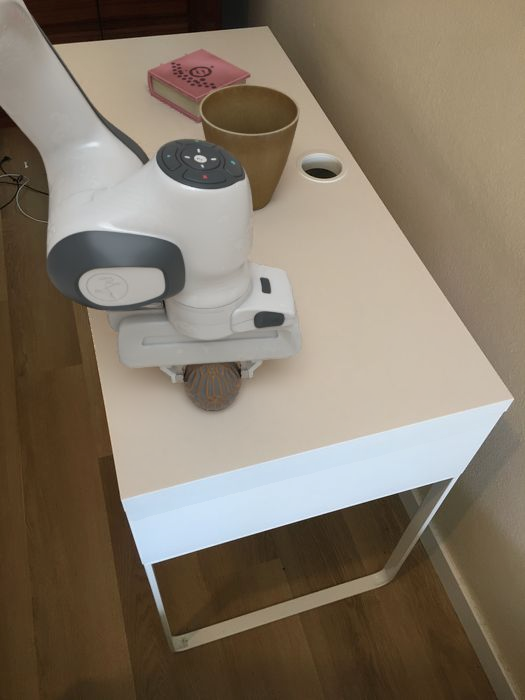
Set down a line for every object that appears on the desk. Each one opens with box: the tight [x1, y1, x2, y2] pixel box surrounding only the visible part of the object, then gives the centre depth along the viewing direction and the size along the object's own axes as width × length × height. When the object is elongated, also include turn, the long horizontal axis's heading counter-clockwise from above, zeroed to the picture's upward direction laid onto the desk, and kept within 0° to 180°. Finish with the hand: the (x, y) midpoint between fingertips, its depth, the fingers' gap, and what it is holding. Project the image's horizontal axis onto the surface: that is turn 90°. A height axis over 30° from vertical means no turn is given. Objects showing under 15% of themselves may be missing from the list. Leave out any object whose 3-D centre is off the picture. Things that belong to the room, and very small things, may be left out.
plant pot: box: [199, 83, 301, 211], centre depth 91 cm, size 15×15×16 cm
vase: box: [183, 361, 242, 411], centre depth 69 cm, size 7×7×9 cm
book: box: [146, 48, 252, 124], centre depth 116 cm, size 14×15×5 cm
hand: (212, 376), depth 69 cm, fingers closed on vase, 7 cm apart
